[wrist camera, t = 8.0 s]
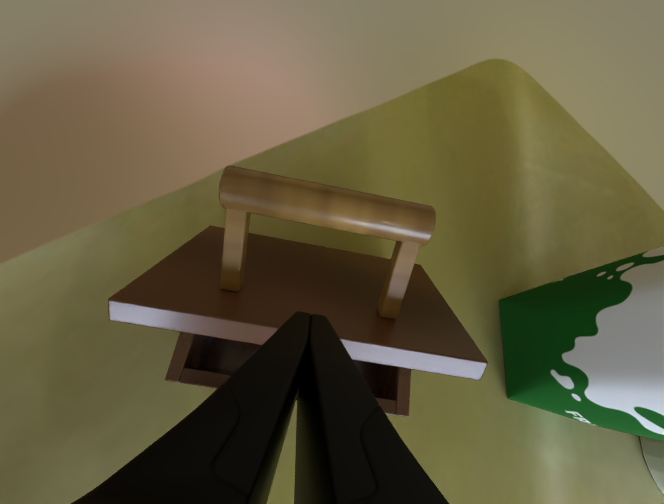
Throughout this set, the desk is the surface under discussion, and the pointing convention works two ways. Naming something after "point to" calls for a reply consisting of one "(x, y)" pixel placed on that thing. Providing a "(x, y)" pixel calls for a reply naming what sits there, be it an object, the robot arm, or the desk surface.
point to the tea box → (228, 355)
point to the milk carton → (592, 345)
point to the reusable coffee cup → (654, 459)
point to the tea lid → (307, 278)
